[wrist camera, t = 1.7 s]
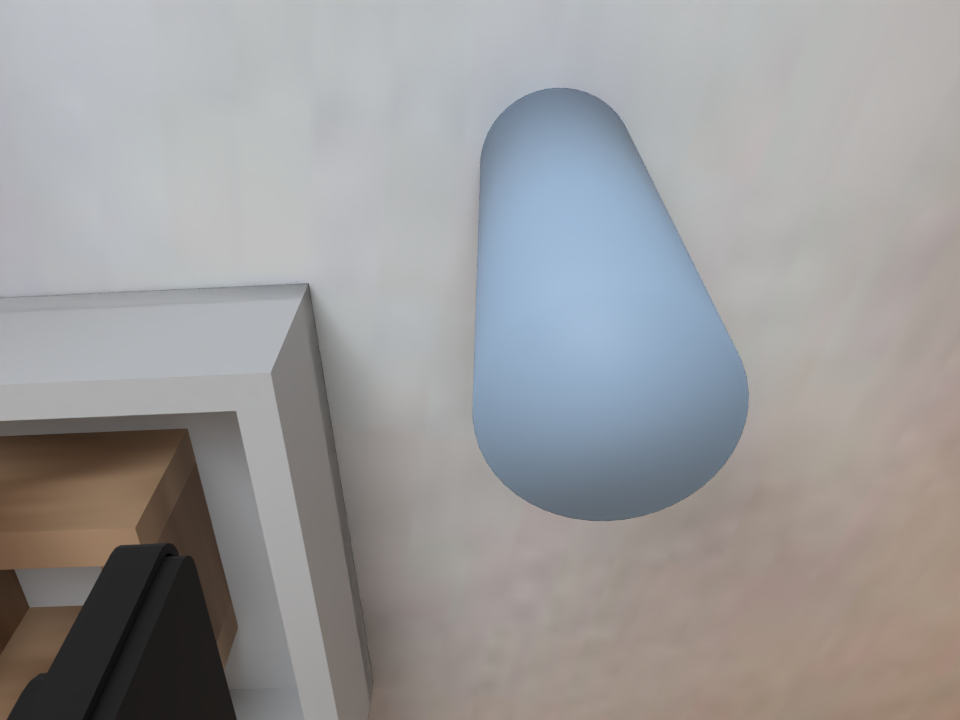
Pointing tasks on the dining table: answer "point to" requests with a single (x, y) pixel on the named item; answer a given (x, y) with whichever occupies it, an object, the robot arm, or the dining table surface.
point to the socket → (95, 530)
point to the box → (215, 465)
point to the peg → (592, 322)
